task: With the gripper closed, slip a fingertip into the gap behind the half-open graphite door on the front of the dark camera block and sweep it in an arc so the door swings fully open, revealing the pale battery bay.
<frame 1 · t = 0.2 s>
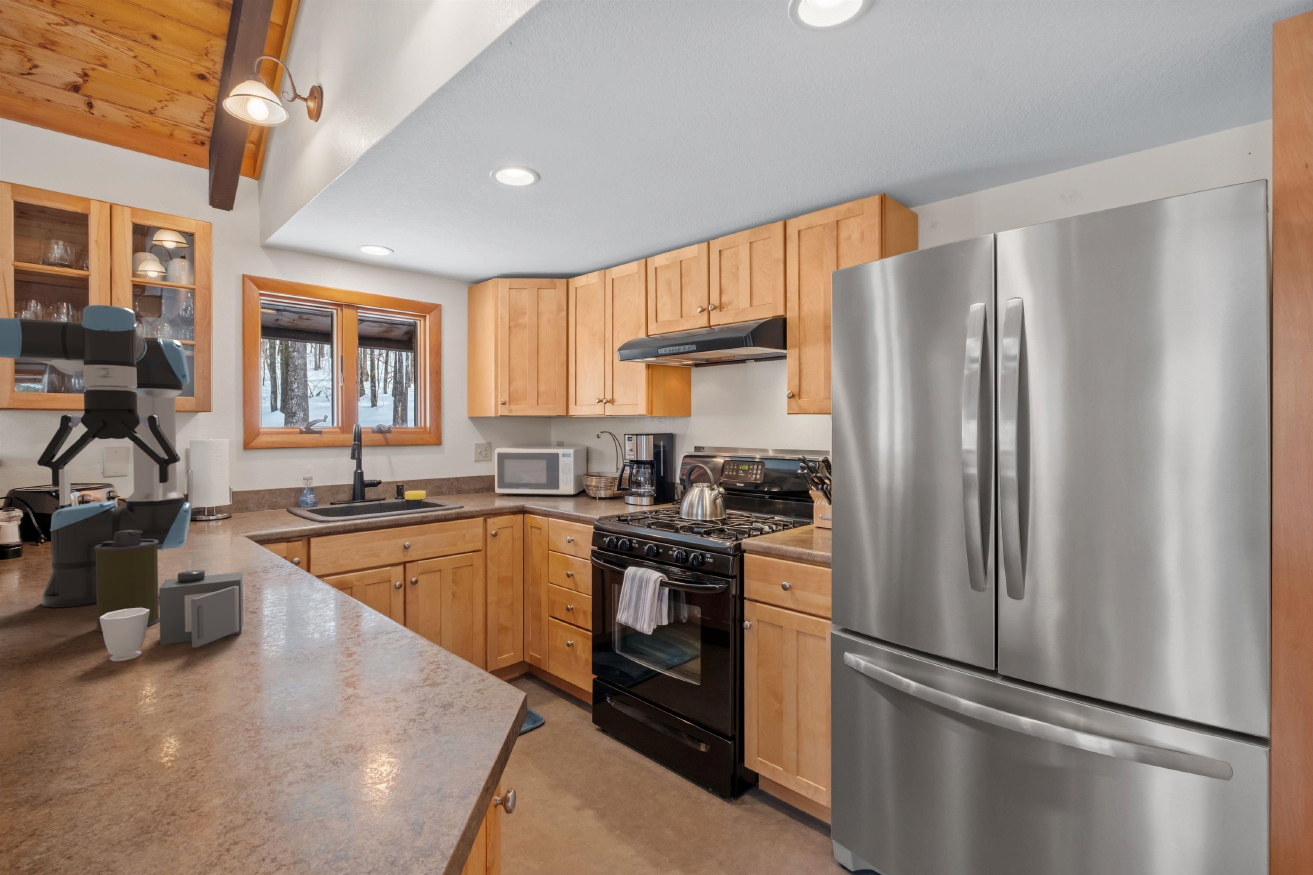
hand: (113, 502, 117), 28 cm above the countertop, fingers open, 13 cm apart
cup: (125, 655, 115), on the countertop
canister: (127, 625, 132), on the countertop
door: (216, 615, 121), point 6 cm above the countertop, hinge at 50.0°
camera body: (204, 633, 126), on the countertop
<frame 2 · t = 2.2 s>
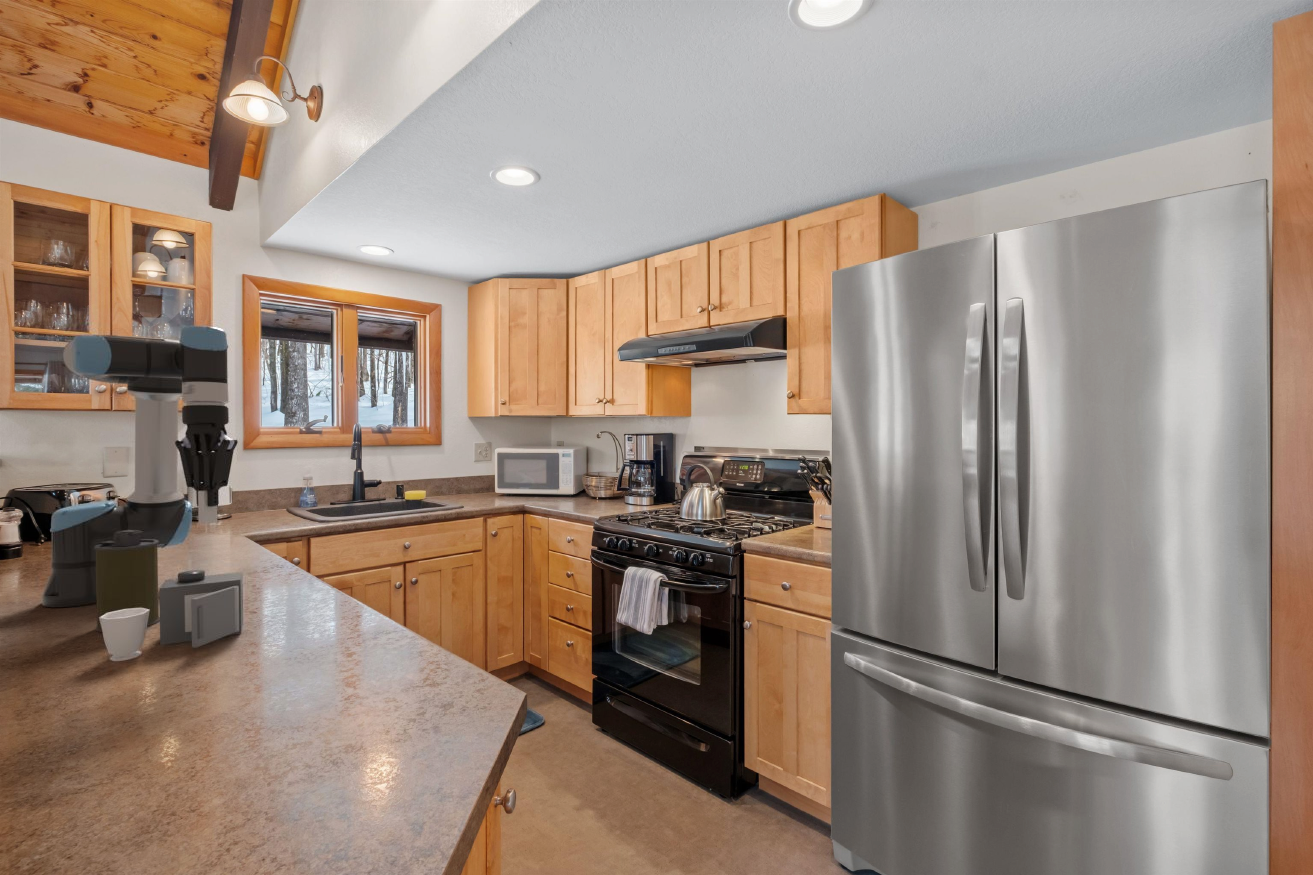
hand: (208, 522, 124), 23 cm above the countertop, fingers closed
nothing on the countertop moved.
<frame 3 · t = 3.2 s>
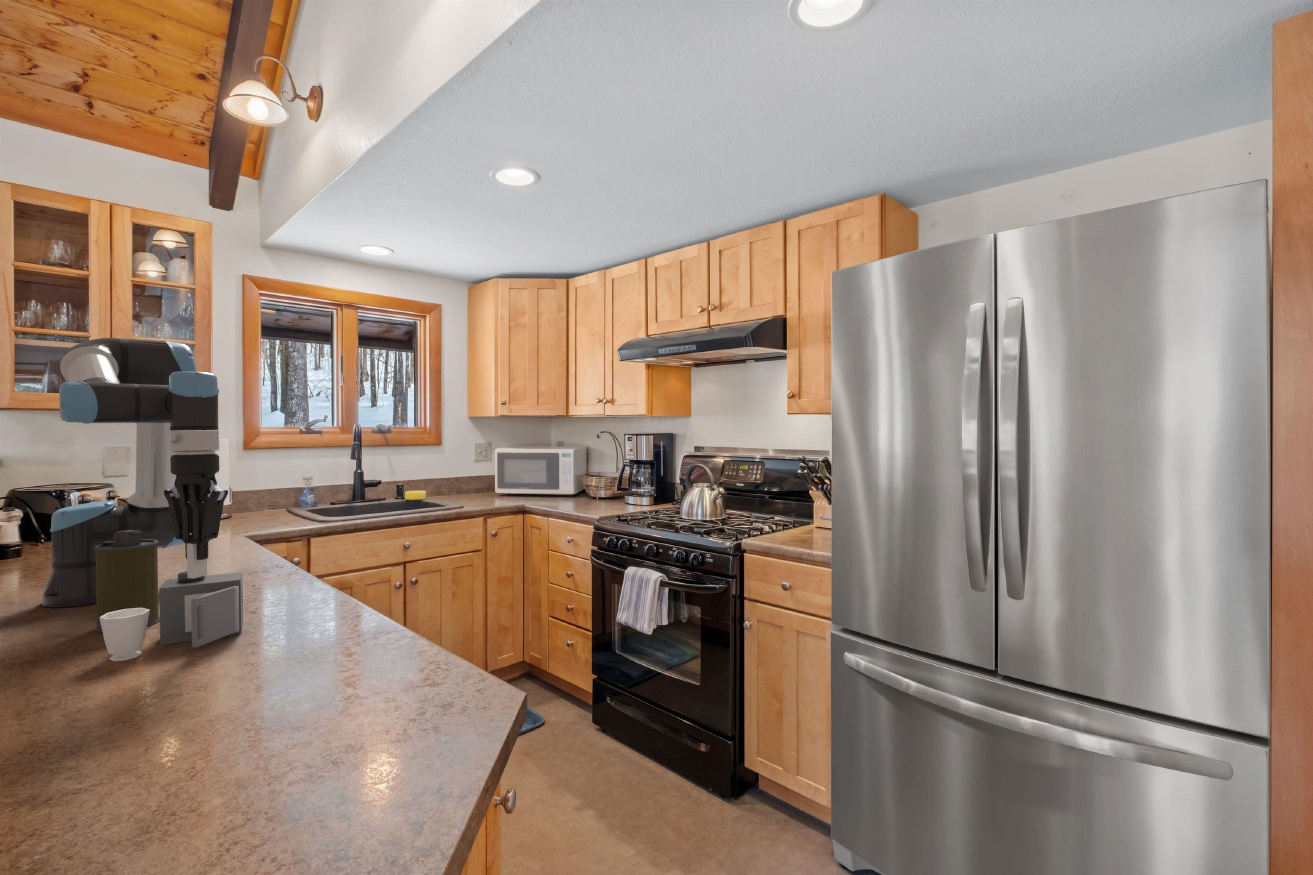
hand: (197, 576, 119), 13 cm above the countertop, fingers closed
nothing on the countertop moved.
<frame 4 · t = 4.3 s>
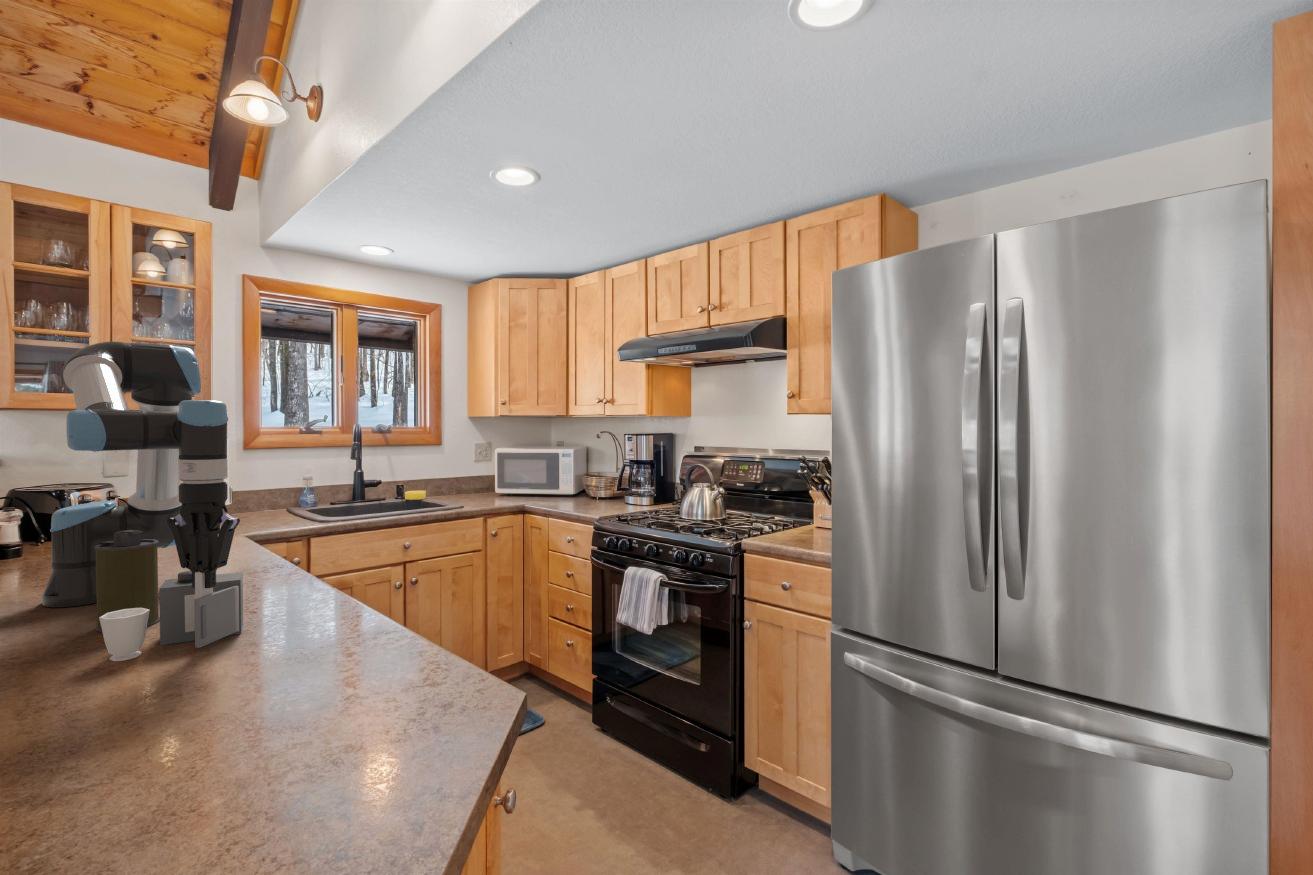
hand: (204, 604, 119), 8 cm above the countertop, fingers closed
door: (218, 615, 121), point 6 cm above the countertop, hinge at 54.4°, touching gripper
everything else where it was.
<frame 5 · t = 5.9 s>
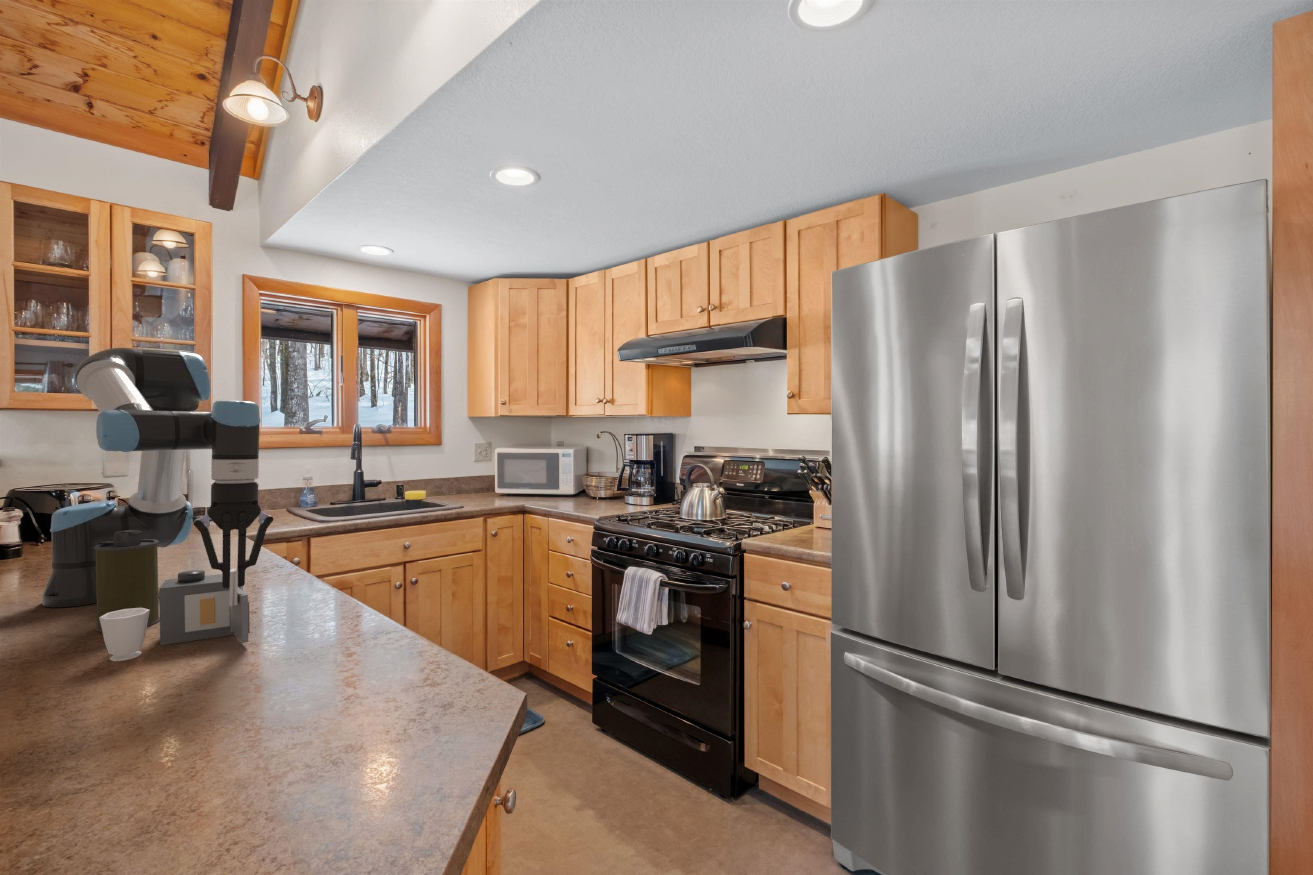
hand: (233, 603, 119), 8 cm above the countertop, fingers closed
door: (239, 613, 122), point 5 cm above the countertop, hinge at 103.3°, touching gripper
everything else where it was.
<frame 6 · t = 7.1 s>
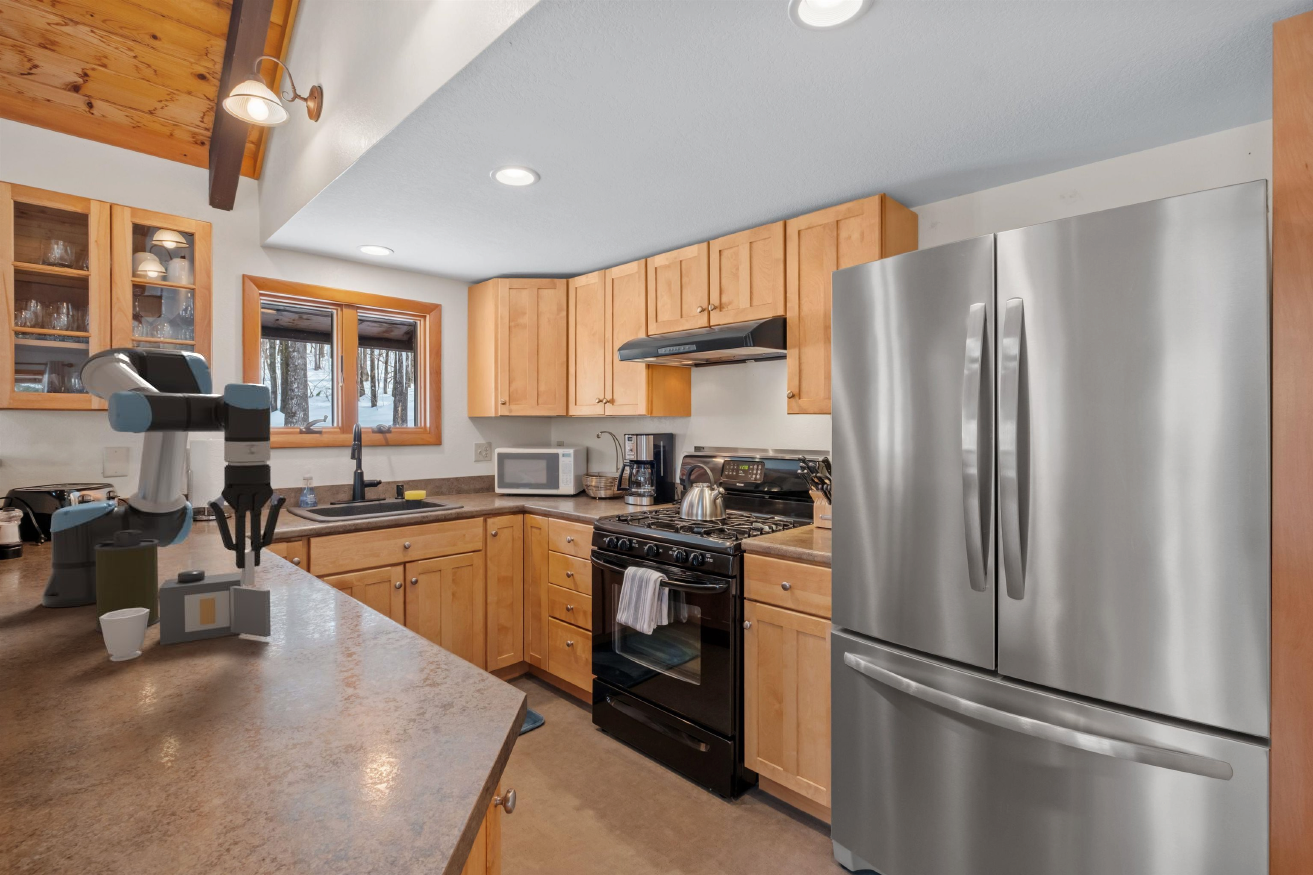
hand: (248, 583, 121), 11 cm above the countertop, fingers closed
door: (250, 610, 123), point 6 cm above the countertop, hinge at 129.1°
everything else where it was.
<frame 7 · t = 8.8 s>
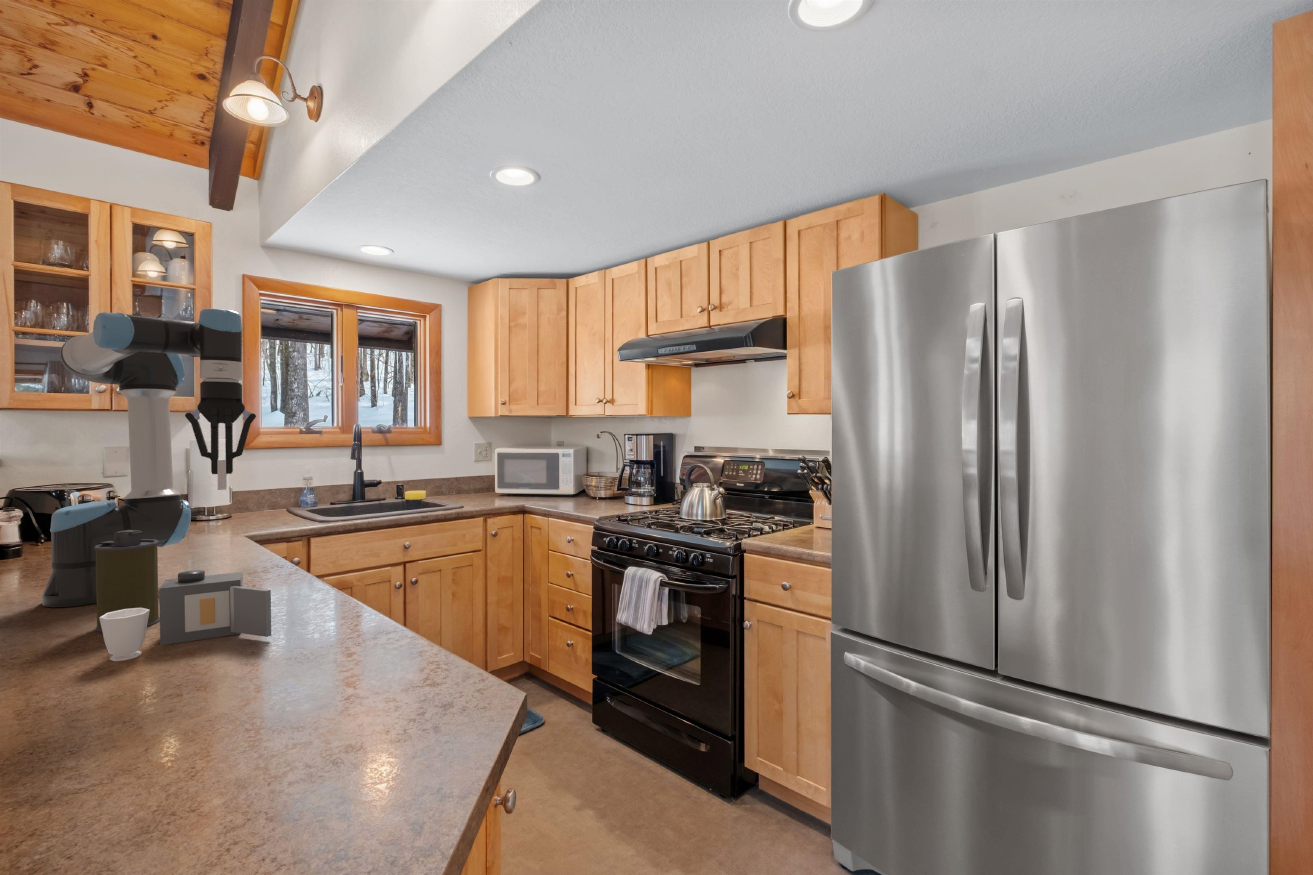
hand: (222, 488, 136), 28 cm above the countertop, fingers closed
door: (250, 610, 123), point 5 cm above the countertop, hinge at 130.0°
everything else where it was.
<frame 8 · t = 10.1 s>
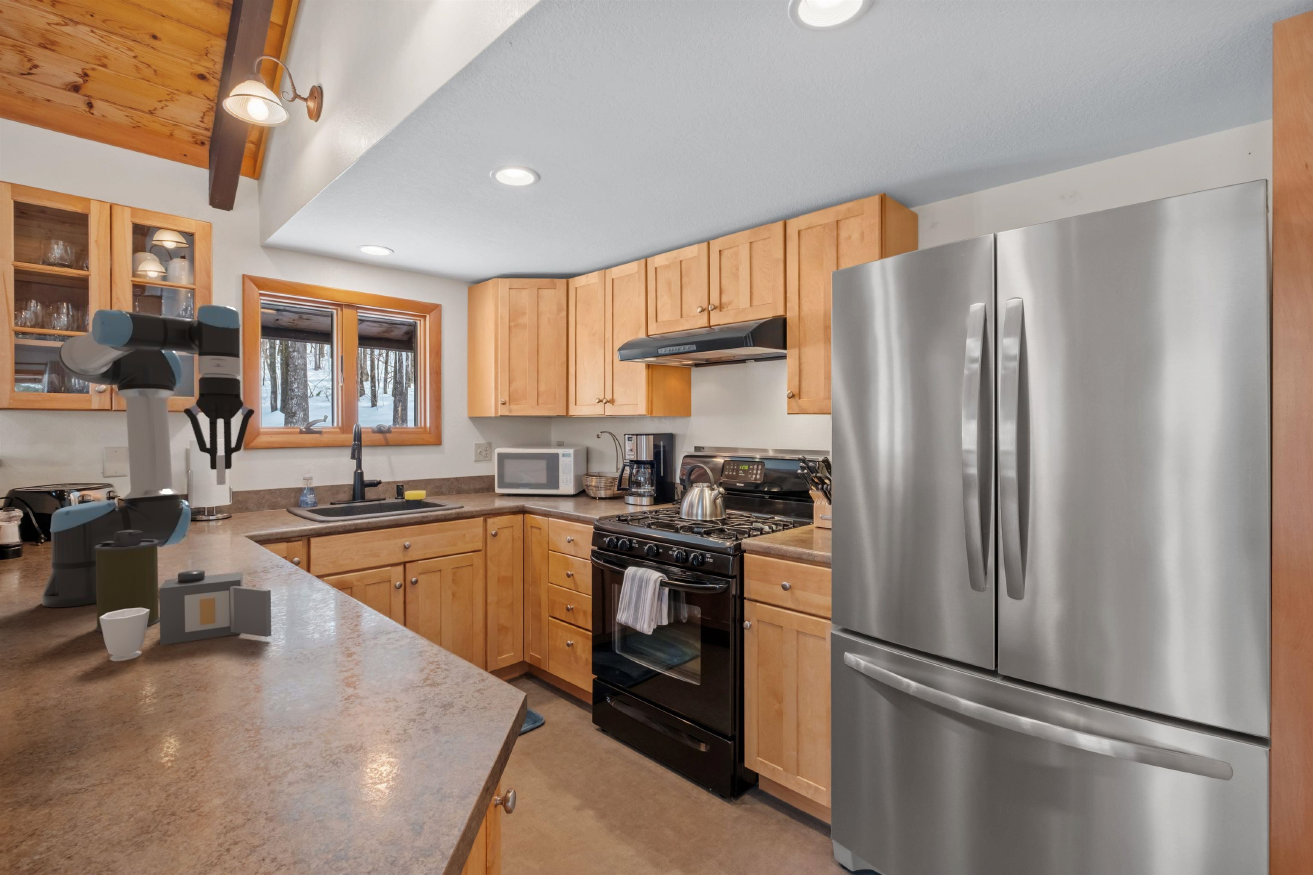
hand: (221, 484, 137), 29 cm above the countertop, fingers closed
nothing on the countertop moved.
at the end: door at +130° (first picture: +50°); cup moved 0.2 cm from its start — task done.
